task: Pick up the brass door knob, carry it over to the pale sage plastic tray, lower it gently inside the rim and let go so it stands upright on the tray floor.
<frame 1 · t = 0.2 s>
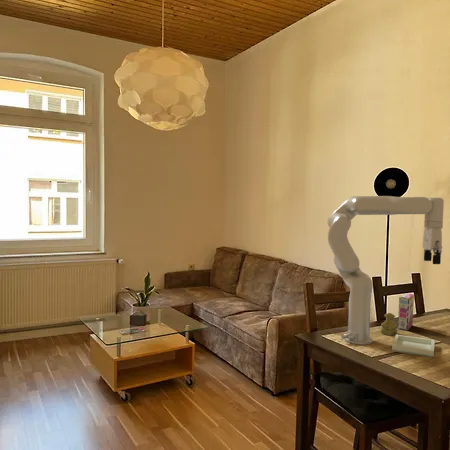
hand: (431, 262, 195), 37 cm above the table, tool pointing down, fingers open, 9 cm apart
tray: (413, 348, 188), on the table
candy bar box: (405, 327, 219), on the table
brass door knob: (389, 333, 208), on the table
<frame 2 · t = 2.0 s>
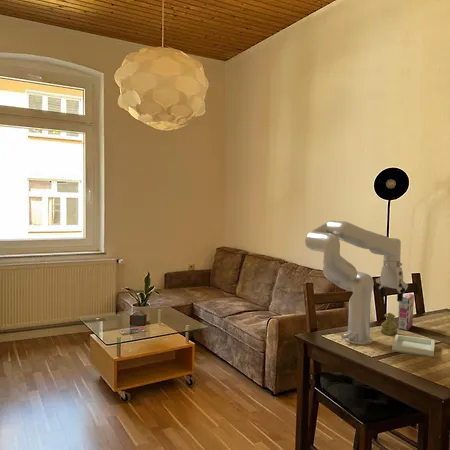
hand: (390, 299, 208), 17 cm above the table, tool pointing down, fingers open, 9 cm apart
nothing on the table moved.
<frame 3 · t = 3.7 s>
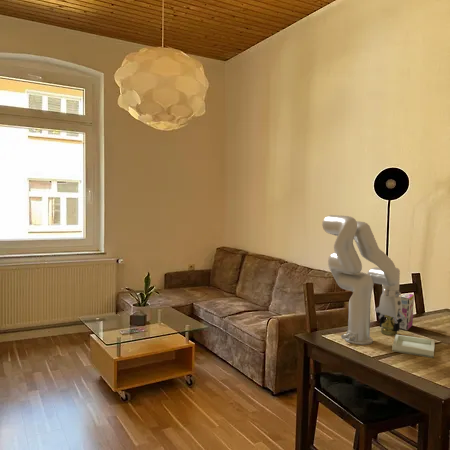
hand: (389, 328, 208), 2 cm above the table, tool pointing down, fingers closed on brass door knob, 7 cm apart
brass door knob: (389, 333, 209), on the table, touching gripper
everything else where it was.
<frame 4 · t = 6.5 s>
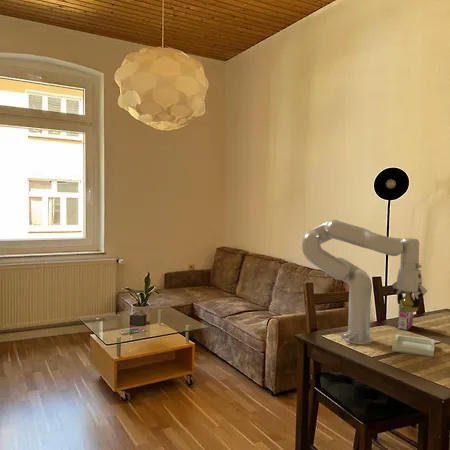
hand: (408, 305, 192), 18 cm above the table, tool pointing down, fingers closed on brass door knob, 7 cm apart
brass door knob: (408, 310, 193), point 15 cm above the table, touching gripper
everything else where it was.
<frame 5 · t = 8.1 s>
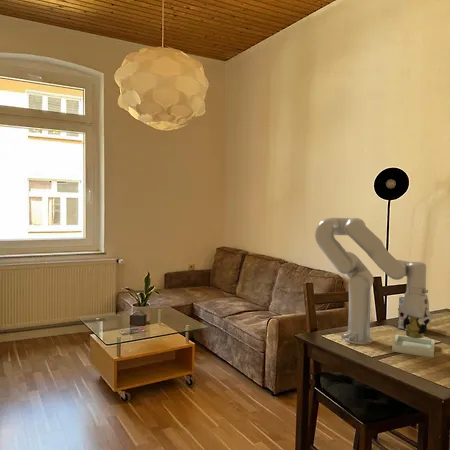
hand: (414, 330, 187), 8 cm above the table, tool pointing down, fingers closed on brass door knob, 7 cm apart
brass door knob: (414, 336, 187), point 6 cm above the table, touching gripper
everything else where it was.
when the fingers open (4 cm above the table, at t = 9.5 s): brass door knob stays where it is, resting on tray.
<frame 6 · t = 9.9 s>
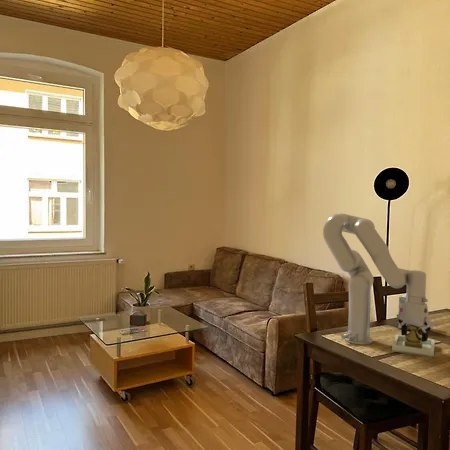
hand: (414, 337, 187), 5 cm above the table, tool pointing down, fingers open, 9 cm apart
brass door knob: (413, 347, 188), point 1 cm above the table, touching tray
everything else where it was.
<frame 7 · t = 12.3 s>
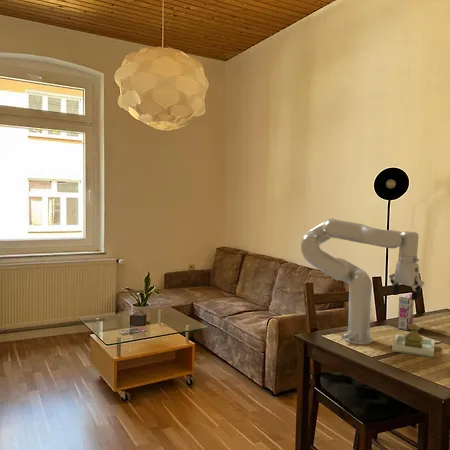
hand: (404, 297, 192), 21 cm above the table, tool pointing down, fingers open, 9 cm apart
nothing on the table moved.
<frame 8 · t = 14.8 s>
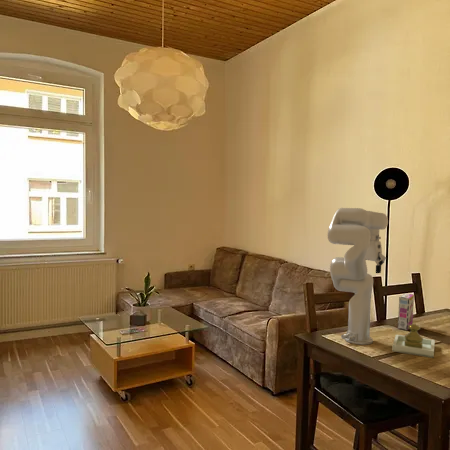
hand: (370, 271, 218), 28 cm above the table, tool pointing down, fingers open, 9 cm apart
nothing on the table moved.
at the end: brass door knob inside the target area on the tray (0.2 cm from its centre), point 0.6 cm above the tray's base; brass door knob tilted 0°; the gripper is holding nothing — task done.
